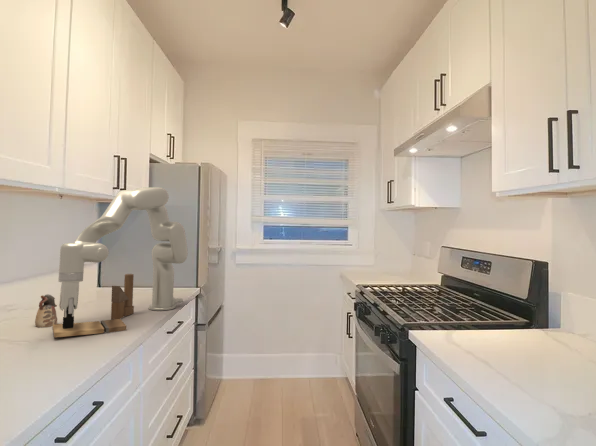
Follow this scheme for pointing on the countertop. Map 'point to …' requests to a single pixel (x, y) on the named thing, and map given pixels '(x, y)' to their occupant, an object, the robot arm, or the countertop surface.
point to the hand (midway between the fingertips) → (67, 327)
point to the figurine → (46, 312)
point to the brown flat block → (113, 325)
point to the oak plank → (78, 329)
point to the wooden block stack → (122, 299)
